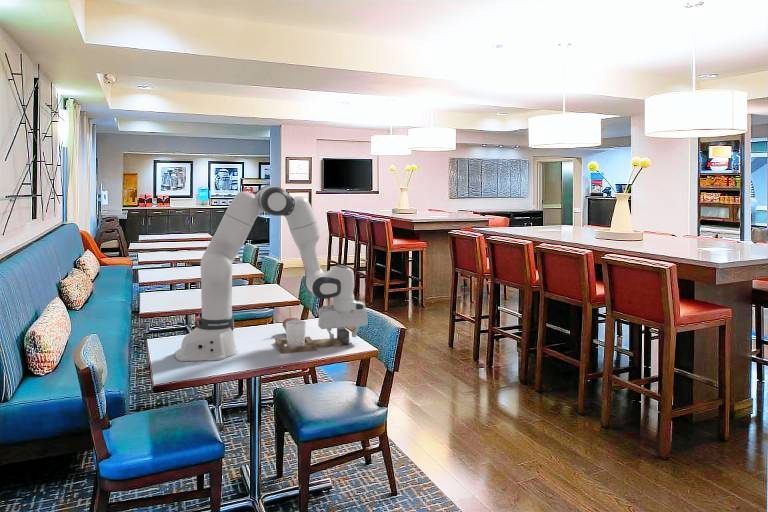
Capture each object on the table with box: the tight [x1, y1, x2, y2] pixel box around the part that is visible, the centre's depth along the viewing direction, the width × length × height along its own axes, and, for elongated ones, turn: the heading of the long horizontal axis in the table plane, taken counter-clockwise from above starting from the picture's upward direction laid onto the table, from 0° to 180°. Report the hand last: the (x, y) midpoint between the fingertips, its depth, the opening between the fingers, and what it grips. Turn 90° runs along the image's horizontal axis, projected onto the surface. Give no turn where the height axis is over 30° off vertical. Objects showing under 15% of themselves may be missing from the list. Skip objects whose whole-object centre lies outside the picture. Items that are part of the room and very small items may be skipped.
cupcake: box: [282, 305, 300, 332], centre depth 247 cm, size 9×8×12 cm
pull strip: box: [275, 327, 350, 354], centre depth 233 cm, size 28×14×6 cm, turn 109°
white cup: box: [285, 319, 307, 347], centre depth 230 cm, size 8×8×10 cm
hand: (342, 337), depth 237 cm, fingers open, 8 cm apart
